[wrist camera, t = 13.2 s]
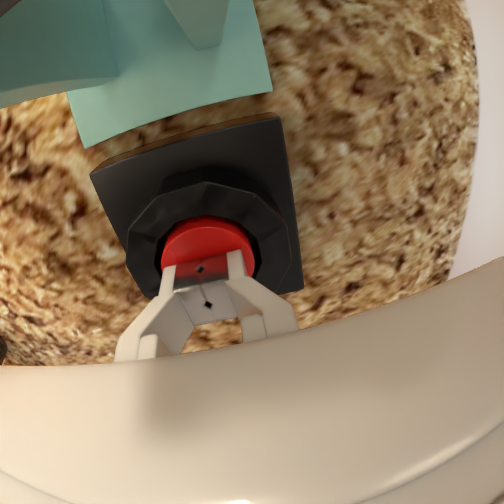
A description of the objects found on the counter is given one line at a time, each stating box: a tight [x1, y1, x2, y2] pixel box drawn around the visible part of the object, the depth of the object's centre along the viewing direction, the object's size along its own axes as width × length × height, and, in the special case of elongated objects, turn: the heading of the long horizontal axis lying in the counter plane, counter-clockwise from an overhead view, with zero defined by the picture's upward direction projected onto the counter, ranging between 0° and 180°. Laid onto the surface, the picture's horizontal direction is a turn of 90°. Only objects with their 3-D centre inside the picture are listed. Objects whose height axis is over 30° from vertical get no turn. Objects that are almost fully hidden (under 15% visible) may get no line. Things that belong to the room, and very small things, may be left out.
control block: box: [89, 112, 304, 301], centre depth 12 cm, size 9×8×4 cm
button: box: [161, 214, 255, 277], centre depth 11 cm, size 4×4×2 cm
